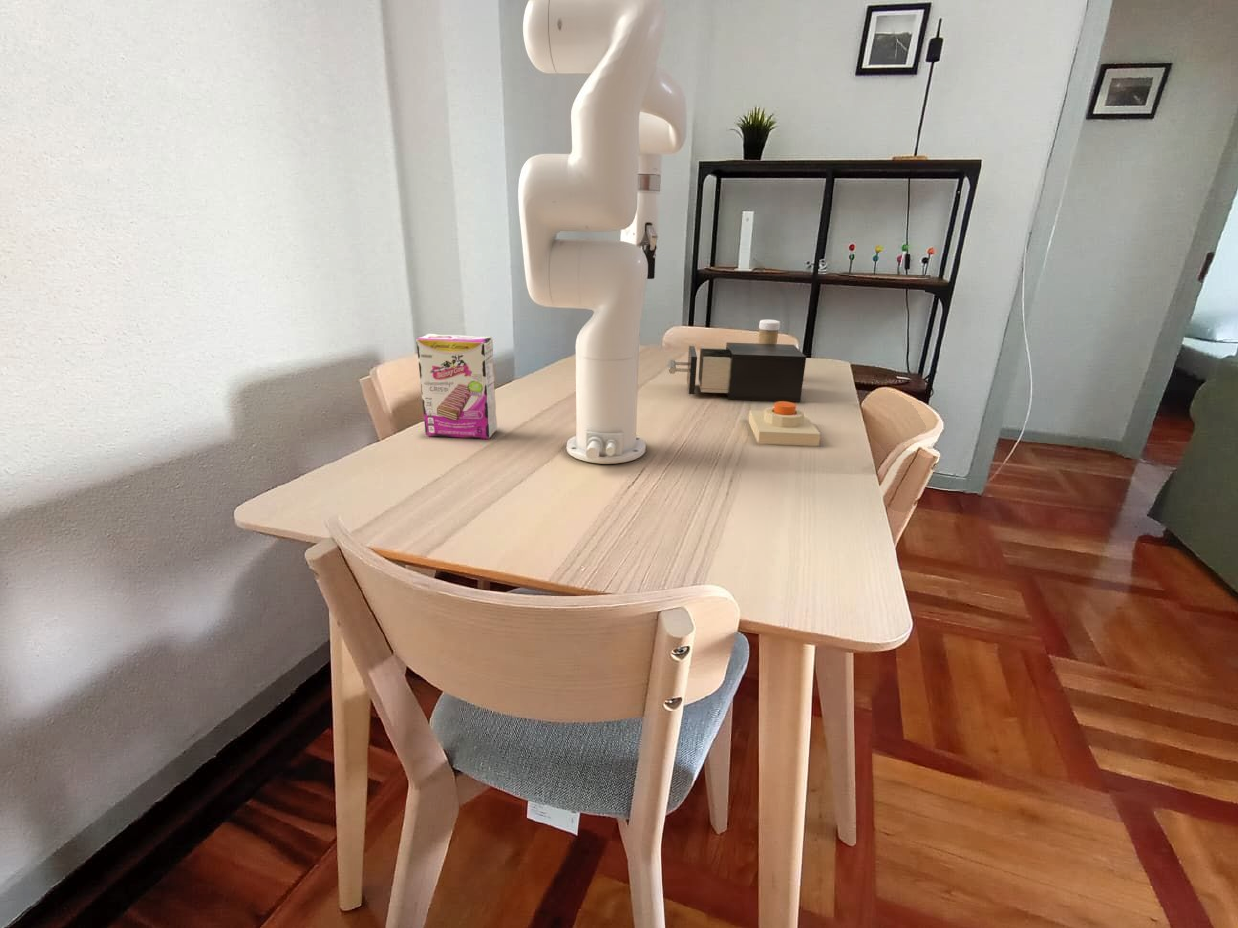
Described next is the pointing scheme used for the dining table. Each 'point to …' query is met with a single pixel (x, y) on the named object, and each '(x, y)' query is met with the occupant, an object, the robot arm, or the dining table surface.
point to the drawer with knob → (706, 369)
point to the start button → (784, 408)
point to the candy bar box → (457, 385)
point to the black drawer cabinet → (766, 372)
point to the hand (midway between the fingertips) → (638, 276)
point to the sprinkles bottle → (768, 331)
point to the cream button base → (783, 428)
